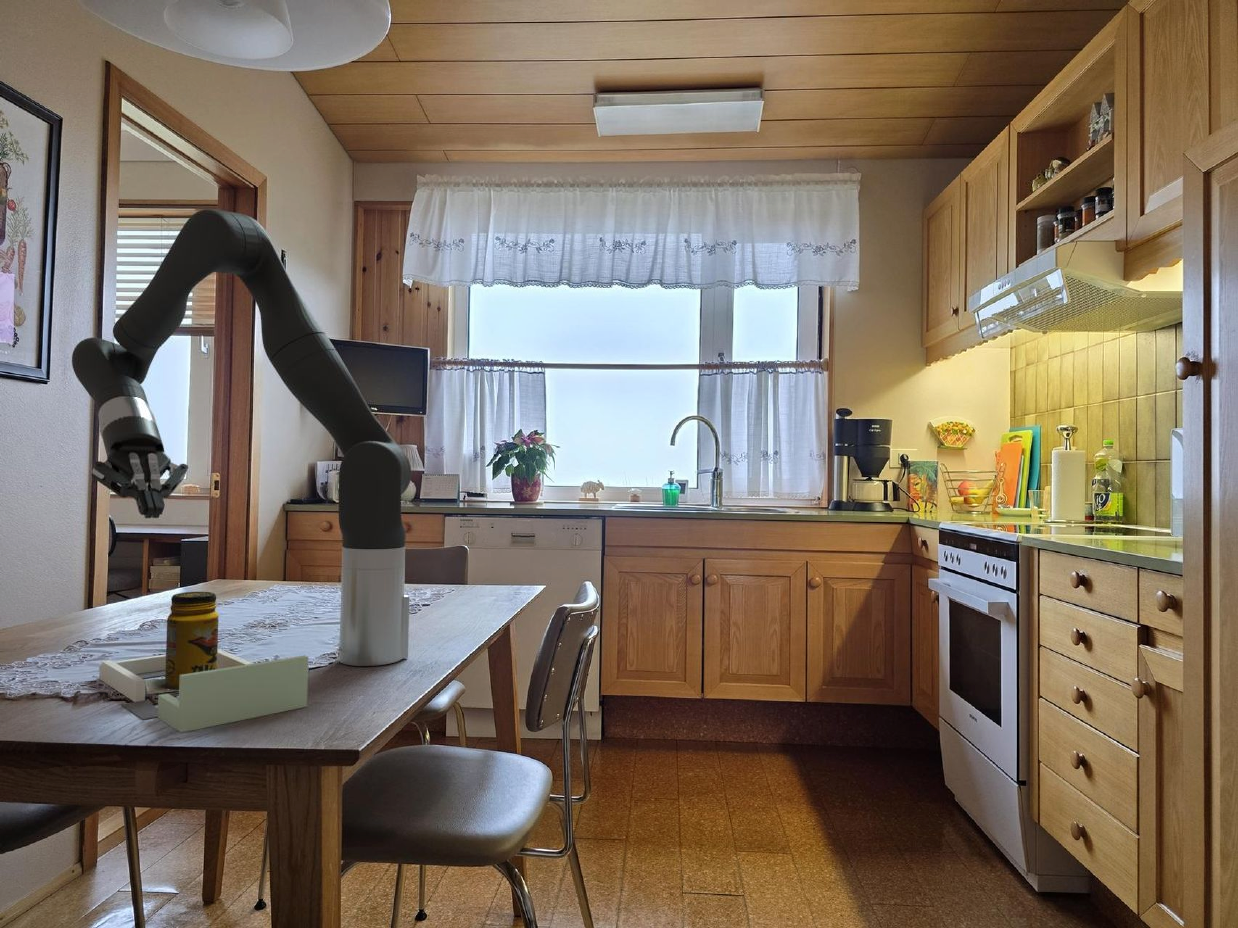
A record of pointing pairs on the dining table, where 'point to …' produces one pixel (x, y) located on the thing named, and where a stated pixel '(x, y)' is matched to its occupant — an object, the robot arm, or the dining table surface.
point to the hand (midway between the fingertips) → (153, 514)
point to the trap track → (212, 689)
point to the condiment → (188, 639)
